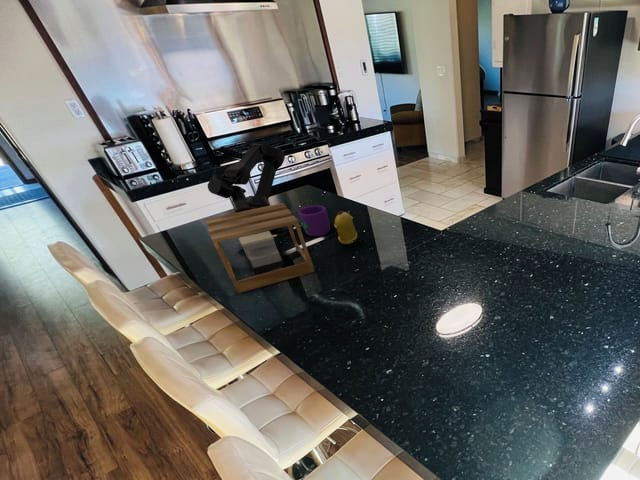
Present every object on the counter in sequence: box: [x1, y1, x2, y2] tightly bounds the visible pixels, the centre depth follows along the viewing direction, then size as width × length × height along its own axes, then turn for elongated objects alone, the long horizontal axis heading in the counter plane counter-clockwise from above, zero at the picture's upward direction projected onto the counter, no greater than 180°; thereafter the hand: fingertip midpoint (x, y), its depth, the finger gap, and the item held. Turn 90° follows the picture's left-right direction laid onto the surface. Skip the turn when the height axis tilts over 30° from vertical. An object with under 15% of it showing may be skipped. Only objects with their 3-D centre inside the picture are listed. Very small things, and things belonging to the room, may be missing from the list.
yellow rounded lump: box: [333, 210, 359, 245], centre depth 161 cm, size 12×8×15 cm
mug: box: [297, 204, 331, 237], centre depth 173 cm, size 17×11×10 cm, turn 44°
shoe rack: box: [204, 202, 316, 294], centre depth 143 cm, size 22×26×19 cm
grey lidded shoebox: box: [238, 231, 286, 274], centre depth 153 cm, size 11×16×8 cm
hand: (255, 237), depth 156 cm, fingers open, 9 cm apart
